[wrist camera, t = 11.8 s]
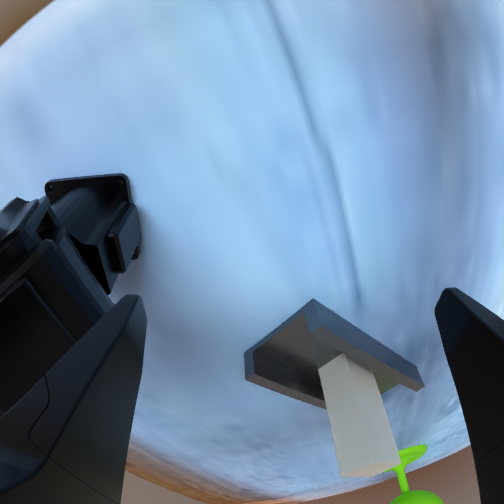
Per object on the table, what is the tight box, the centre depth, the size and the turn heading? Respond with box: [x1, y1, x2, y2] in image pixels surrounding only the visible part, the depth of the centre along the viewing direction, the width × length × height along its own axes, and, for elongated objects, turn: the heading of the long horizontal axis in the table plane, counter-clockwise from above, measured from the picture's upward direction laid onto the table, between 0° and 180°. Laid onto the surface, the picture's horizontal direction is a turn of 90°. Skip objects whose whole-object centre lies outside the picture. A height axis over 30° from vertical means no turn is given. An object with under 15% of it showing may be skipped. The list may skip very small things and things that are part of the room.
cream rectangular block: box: [318, 353, 401, 477], centre depth 26 cm, size 5×4×12 cm
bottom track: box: [244, 299, 424, 409], centre depth 31 cm, size 20×9×3 cm, turn 50°
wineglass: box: [382, 445, 443, 504], centre depth 52 cm, size 16×16×18 cm
